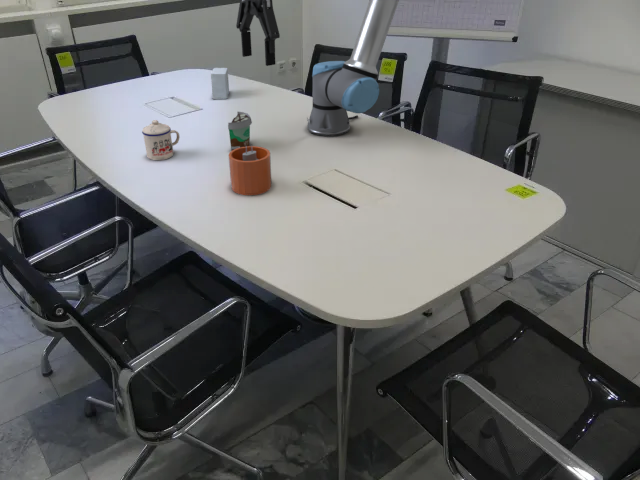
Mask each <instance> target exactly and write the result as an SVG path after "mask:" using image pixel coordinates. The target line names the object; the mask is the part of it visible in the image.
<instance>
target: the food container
mask: <svg viewBox="0 0 640 480" xmlns="http://www.w3.org/2000/svg"><path fill="white" fill-rule="evenodd" d="M236 114H237V115H235V117H233V119H232V121H231V122H227V129H228V132H229V134H228V135H229V141H230V142H229V143H230V150H231V151H232V150H234V149H236V148H240V147H246V146H251V144H250V143H251V142H250V140H251V125H252V124H253V121H252V118H251V116H250V114H249V113H247V112H244V111H237V113H236ZM231 151H230V152H231Z"/></svg>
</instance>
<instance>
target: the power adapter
mask: <svg viewBox="0 0 640 480" xmlns="http://www.w3.org/2000/svg"><path fill="white" fill-rule="evenodd" d="M250 146H251V150H252V151H249V152H247V146H246V153H243V161H254V160H259V159H257V158H256V151H253V148H252V146H253V143H251V144H250Z"/></svg>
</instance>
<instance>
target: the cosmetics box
mask: <svg viewBox="0 0 640 480" xmlns="http://www.w3.org/2000/svg"><path fill="white" fill-rule="evenodd" d="M210 80H211V95H212V96H211V97H212V100H227V99H228V96H229V94H230V85H229V84H230V83H229V82H230V81H229V69H228V67H213V69H212V70H211V72H210Z"/></svg>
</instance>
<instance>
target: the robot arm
mask: <svg viewBox="0 0 640 480" xmlns="http://www.w3.org/2000/svg"><path fill="white" fill-rule="evenodd" d="M399 1H400V0H369V1H368V4H367V7H366V10H365V12H364V15H363V18H362V22H361V25H360V28H359V31H358V33H357V36H356V40H355V43H354V46H353V49H352V52H351V54H350V58H349V59H347V60H345V61H344V60H330V61H329V60H328V61H322V62H318V63H315V64H314V65H313V68H312V75H311V77H312V108H311V111H310V115H309V117H306V121H307V125H306V127H307V128H306V129H307V131H308V132H309V133H310V134H312V135H316V136H320V137H337V136H341V135H345V134H347V133H349V132H350V130H351V122H350V121H352V120H355V119H359V115H358V114H362V113H366V112H367V111H369V110H370V109H371V108H373V107H374V106H375V104H376V102H377V101H378V98H379V95H380V88H379V87H380V85H379V83H378V82H377V79H378V77H379V72H378V69H377V65H378V62H379V59H380V56H381V53H382V50H383V48H384V46H385V42H386V39H387V36H388V33H389V30H390V27H391V25H392V22H393V20H394V17H395V14H396V10H397V8H398V5H399ZM254 17H255V18H256V19H258V21H259V24H260V26H261V29H262V32H263V35H264V36H265V38H264V55H265V56H264V57H265V59H264V60H265V66H266V67H269V66H275V65H276V40H277V39H280V37H281V35H280V31H279V27H278V22H277V19H276V15H275V11H274V6H273V0H239V6H238V12H237V18H236V24H235V25H236V26H235V27H236V29H237V30H238V29H239V32H240V39H241V40H240V41H241V56H242V57H243V58H245V57H251V56H253V53H252V52H253V51H252V36H251V35H252V33H251V25H252V22H253V20H254ZM348 112H350V113H353V114H355V115H354V116H348ZM356 114H357V115H356Z"/></svg>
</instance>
